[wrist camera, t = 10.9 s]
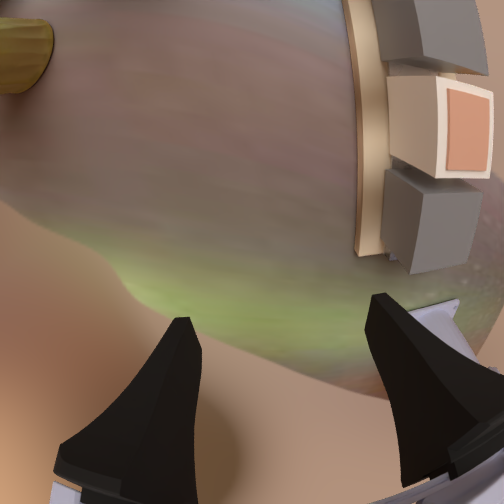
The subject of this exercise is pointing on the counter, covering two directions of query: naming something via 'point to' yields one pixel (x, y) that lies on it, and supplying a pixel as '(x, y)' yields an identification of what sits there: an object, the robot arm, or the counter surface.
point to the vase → (23, 52)
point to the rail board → (378, 135)
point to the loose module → (441, 125)
